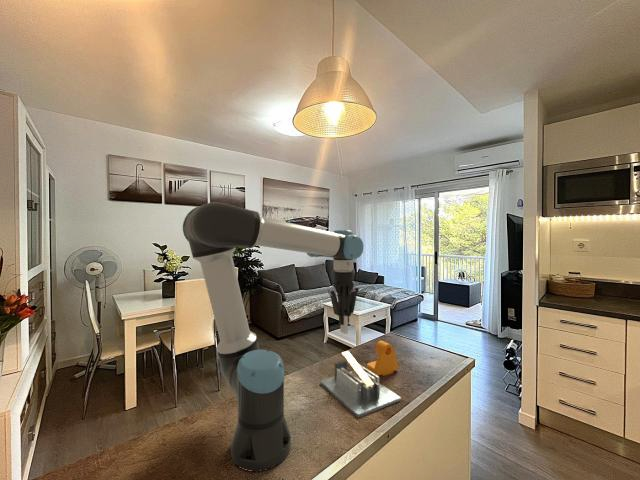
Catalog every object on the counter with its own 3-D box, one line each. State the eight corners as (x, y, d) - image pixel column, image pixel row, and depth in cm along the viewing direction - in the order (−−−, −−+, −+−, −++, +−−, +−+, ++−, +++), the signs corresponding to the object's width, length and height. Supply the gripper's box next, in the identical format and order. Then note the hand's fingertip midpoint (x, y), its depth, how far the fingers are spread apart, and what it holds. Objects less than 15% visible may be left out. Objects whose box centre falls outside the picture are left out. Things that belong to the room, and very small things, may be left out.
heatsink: (400, 400, 93) (400, 381, 93) (357, 417, 84) (357, 396, 84) (358, 371, 113) (358, 356, 113) (320, 383, 104) (320, 366, 104)
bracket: (385, 364, 119) (385, 336, 119) (398, 371, 113) (398, 341, 113) (366, 370, 114) (366, 341, 114) (378, 377, 108) (377, 347, 108)
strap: (375, 388, 93) (376, 386, 92) (368, 391, 91) (368, 389, 91) (347, 352, 106) (348, 350, 106) (341, 354, 105) (341, 352, 104)
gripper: (334, 273, 99) (335, 339, 99) (363, 270, 105) (363, 332, 106) (323, 270, 105) (324, 332, 106) (351, 268, 112) (352, 326, 112)
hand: (344, 332), depth 106 cm, fingers closed
